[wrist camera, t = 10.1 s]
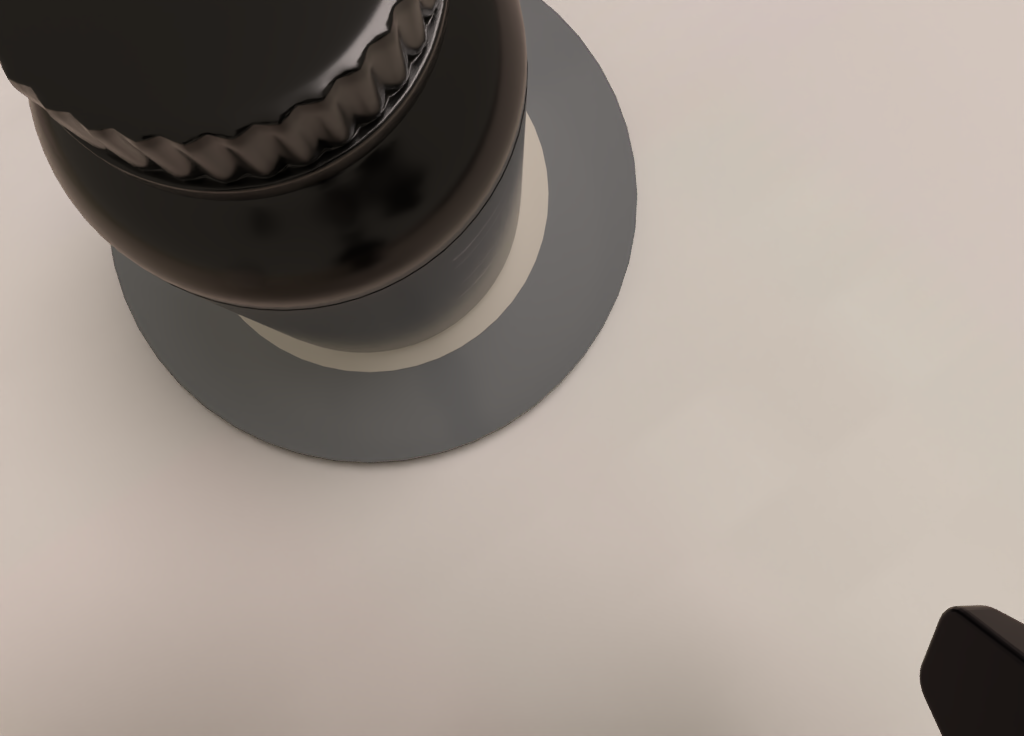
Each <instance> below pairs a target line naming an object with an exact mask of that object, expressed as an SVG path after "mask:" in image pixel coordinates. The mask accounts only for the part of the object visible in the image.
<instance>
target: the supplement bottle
mask: <svg viewBox="0 0 1024 736" xmlns="http://www.w3.org/2000/svg"><path fill="white" fill-rule="evenodd" d="M0 64H1V65H2V68H3V70H4V72H5V74H6V76H7V78H8V80H9V81H10V82H11V84H12V85H13V86H14V87H15V88H16V89H17V90H18V91H20V92H21V93H22V94H24V95H25V96H27V97H28V99H29V105H30V109H31V113H32V117H33V121H34V125H35V129H36V132H37V135H38V137H39V140H40V143H41V146H42V148H43V151H44V154H45V156H46V158H47V160H48V162H49V164H50V166H51V168H52V170H53V173H54V175H55V176H56V178H57V180H58V181H59V183H60V184H61V186H62V188H63V189H64V191H65V193H66V194H67V196H68V197H69V199H70V200H71V201H72V203H73V204H74V205H75V207H76V208H77V209H78V211H79V212H80V213H81V214H82V216H83V217H84V218H85V219H86V221H87V222H88V223H89V224H90V225H91V226H92V227H93V228H94V229H95V230H96V231H97V232H98V233H99V234H100V235H101V236H102V237H103V238H104V239H105V240H106V241H107V242H109V243H110V244H111V245H112V246H113V247H114V248H115V249H117V250H118V251H119V252H120V253H122V254H123V255H124V256H126V257H127V258H129V259H130V260H132V261H133V262H134V263H136V264H137V265H139V266H140V267H142V268H143V269H145V270H146V271H148V272H150V273H151V274H153V275H155V276H157V277H158V278H160V279H162V280H164V281H165V282H167V283H169V284H171V285H173V286H175V287H177V288H179V289H181V290H184V291H186V292H188V293H191V294H193V295H195V296H197V297H200V298H202V299H204V300H207V301H209V302H211V303H214V304H216V305H218V306H221V307H223V308H225V309H228V310H230V311H232V312H235V313H237V314H239V315H241V316H244V317H246V318H248V319H251V320H253V321H255V322H258V323H260V324H262V325H265V326H267V327H269V328H272V329H274V330H276V331H279V332H281V333H283V334H286V335H288V336H290V337H293V338H295V339H298V340H301V341H304V342H307V343H310V344H313V345H316V346H319V347H322V348H327V349H331V350H336V351H344V352H356V353H371V352H384V351H390V350H395V349H400V348H404V347H407V346H411V345H414V344H417V343H419V342H422V341H425V340H427V339H429V338H431V337H433V336H435V335H437V334H439V333H441V332H443V331H444V330H446V329H448V328H449V327H451V326H452V325H454V324H455V323H456V322H458V321H459V320H460V319H462V318H463V317H464V316H465V315H467V314H468V313H469V312H470V311H471V310H472V309H473V308H474V307H475V306H476V305H477V304H478V303H479V302H480V301H481V299H482V298H483V297H484V296H485V295H486V294H487V292H488V291H489V289H490V288H491V287H492V285H493V284H494V282H495V281H496V279H497V277H498V276H499V274H500V272H501V270H502V269H503V267H504V265H505V262H506V260H507V258H508V256H509V253H510V250H511V247H512V244H513V241H514V238H515V234H516V229H517V225H518V218H519V212H520V203H521V191H522V174H523V157H524V140H525V123H526V105H527V79H528V61H527V48H526V35H525V27H524V22H523V16H522V11H521V5H520V1H519V0H0Z"/></svg>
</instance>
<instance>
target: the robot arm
mask: <svg viewBox="0 0 1024 736" xmlns="http://www.w3.org/2000/svg"><path fill="white" fill-rule="evenodd" d="M920 684H921V688H922V692H923V695H924V697H925V699H926V702H927V704H928V706H929V708H930V710H931V712H932V715H933V717H934V719H935V721H936V723H937V726H938V728H939V730H940V732H941V734H942V736H1024V624H1023V623H1021V622H1019V621H1017V620H1015V619H1014V618H1012V617H1010V616H1008V615H1006V614H1004V613H1002V612H1000V611H998V610H997V609H994V608H992V607H989V606H983V605H975V606H954V607H951V608H948V609H947V610H946V611H945V612H944V613H943V614H942V616H941V617H940V619H939V622H938V624H937V627H936V630H935V632H934V635H933V637H932V640H931V642H930V645H929V647H928V650H927V652H926V655H925V657H924V660H923V662H922V665H921V669H920Z"/></svg>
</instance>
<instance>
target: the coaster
mask: <svg viewBox="0 0 1024 736" xmlns="http://www.w3.org/2000/svg"><path fill="white" fill-rule="evenodd" d="M519 1H520V5H521V11H522V16H523V22H524V27H525V35H526V48H527V61H528V79H527V105H526V123H525V140H524V157H523V174H522V191H521V203H520V212H519V218H518V225H517V229H516V234H515V238H514V241H513V244H512V247H511V250H510V253H509V256H508V258H507V260H506V262H505V265H504V267H503V269H502V270H501V272H500V274H499V276H498V277H497V279H496V281H495V282H494V284H493V285H492V287H491V288H490V289H489V291H488V292H487V294H486V295H485V296H484V297H483V298H482V299H481V301H480V302H479V303H478V304H477V305H476V306H475V307H474V308H473V309H472V310H471V311H470V312H469V313H468V314H467V315H465V316H464V317H463V318H462V319H460V320H459V321H458V322H456V323H455V324H454V325H452V326H451V327H449V328H448V329H446V330H444V331H443V332H441V333H439V334H437V335H435V336H433V337H431V338H429V339H427V340H425V341H422V342H419V343H417V344H414V345H411V346H407V347H404V348H400V349H395V350H390V351H384V352H371V353H356V352H344V351H336V350H331V349H327V348H322V347H319V346H316V345H313V344H310V343H307V342H304V341H301V340H298V339H295V338H293V337H290V336H288V335H286V334H283V333H281V332H279V331H276V330H274V329H272V328H269V327H267V326H265V325H262V324H260V323H258V322H255V321H253V320H251V319H248V318H246V317H244V316H241V315H239V314H237V313H235V312H232V311H230V310H228V309H225V308H223V307H221V306H218V305H216V304H214V303H211V302H209V301H207V300H204V299H202V298H200V297H197V296H195V295H193V294H191V293H188V292H186V291H184V290H181V289H179V288H177V287H175V286H173V285H171V284H169V283H167V282H165V281H164V280H162V279H160V278H158V277H157V276H155V275H153V274H151V273H150V272H148V271H146V270H145V269H143V268H142V267H140V266H139V265H137V264H136V263H134V262H133V261H132V260H130V259H129V258H127V257H126V256H124V255H123V254H122V253H120V252H119V251H118V250H117V249H115V248H114V247H113V246H112V245H111V249H112V255H113V260H114V266H115V269H116V272H117V275H118V279H119V282H120V285H121V288H122V291H123V295H124V298H125V300H126V302H127V304H128V306H129V309H130V311H131V313H132V315H133V317H134V319H135V321H136V323H137V326H138V328H139V330H140V331H141V333H142V334H143V336H144V337H145V339H146V341H147V342H148V344H149V345H150V347H151V348H152V350H153V351H154V353H155V354H156V356H157V358H158V359H159V360H160V361H161V362H162V363H163V365H164V366H165V367H166V368H167V369H168V371H169V372H170V373H171V374H172V375H173V376H174V378H175V379H176V380H177V381H178V382H179V383H180V384H181V385H182V386H183V387H184V388H185V389H186V390H187V391H188V392H190V393H191V394H192V395H193V396H194V397H195V398H196V399H197V400H199V401H200V402H201V403H202V404H203V405H204V406H205V407H206V408H208V409H209V410H211V411H212V412H214V413H215V414H217V415H218V416H220V417H221V418H223V419H224V420H226V421H227V422H229V423H230V424H232V425H233V426H235V427H236V428H239V429H241V430H243V431H245V432H247V433H249V434H251V435H253V436H255V437H257V438H259V439H261V440H263V441H265V442H267V443H270V444H273V445H276V446H279V447H282V448H285V449H288V450H291V451H294V452H297V453H299V454H304V455H310V456H315V457H320V458H325V459H330V460H337V461H353V462H369V463H370V462H384V461H398V460H408V459H413V458H418V457H423V456H428V455H433V454H438V453H442V452H445V451H448V450H451V449H454V448H457V447H460V446H463V445H465V444H468V443H471V442H474V441H476V440H478V439H480V438H482V437H484V436H486V435H488V434H490V433H492V432H494V431H496V430H498V429H500V428H502V427H504V426H506V425H508V424H509V423H511V422H512V421H514V420H515V419H516V418H518V417H519V416H521V415H522V414H524V413H525V412H527V411H528V410H530V409H531V408H533V407H534V406H535V405H536V404H538V403H539V402H540V401H541V400H542V399H543V398H544V397H545V396H547V395H548V394H549V393H550V392H551V391H552V390H553V389H554V388H556V387H557V386H558V385H559V384H560V383H561V382H562V381H563V379H564V378H565V377H566V376H567V375H568V374H569V373H570V371H571V370H572V369H573V368H574V367H575V366H576V364H577V363H578V362H579V361H580V360H581V359H582V357H583V356H584V355H585V353H586V352H587V350H588V349H589V347H590V346H591V344H592V343H593V341H594V340H595V338H596V336H597V335H598V333H599V332H600V330H601V329H602V327H603V326H604V324H605V321H606V319H607V317H608V315H609V313H610V311H611V309H612V307H613V305H614V303H615V301H616V299H617V297H618V294H619V291H620V288H621V285H622V282H623V279H624V276H625V273H626V270H627V267H628V264H629V260H630V254H631V249H632V244H633V238H634V233H635V225H636V205H637V188H636V175H635V163H634V157H633V152H632V148H631V143H630V139H629V134H628V130H627V126H626V123H625V120H624V118H623V115H622V112H621V109H620V107H619V104H618V101H617V98H616V96H615V94H614V92H613V90H612V88H611V86H610V84H609V82H608V80H607V78H606V76H605V75H604V73H603V71H602V69H601V67H600V65H599V64H598V62H597V61H596V59H595V58H594V57H593V55H592V54H591V52H590V51H589V49H588V48H587V47H586V45H585V44H584V42H583V41H582V40H581V38H580V37H579V36H578V35H577V34H576V33H575V32H574V31H573V29H572V28H571V27H570V26H569V25H568V24H567V23H566V22H565V21H564V20H563V19H562V18H561V16H560V15H559V14H558V13H557V12H555V11H554V10H553V9H552V8H551V7H549V6H548V5H547V4H546V3H545V2H543V1H542V0H519Z"/></svg>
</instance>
